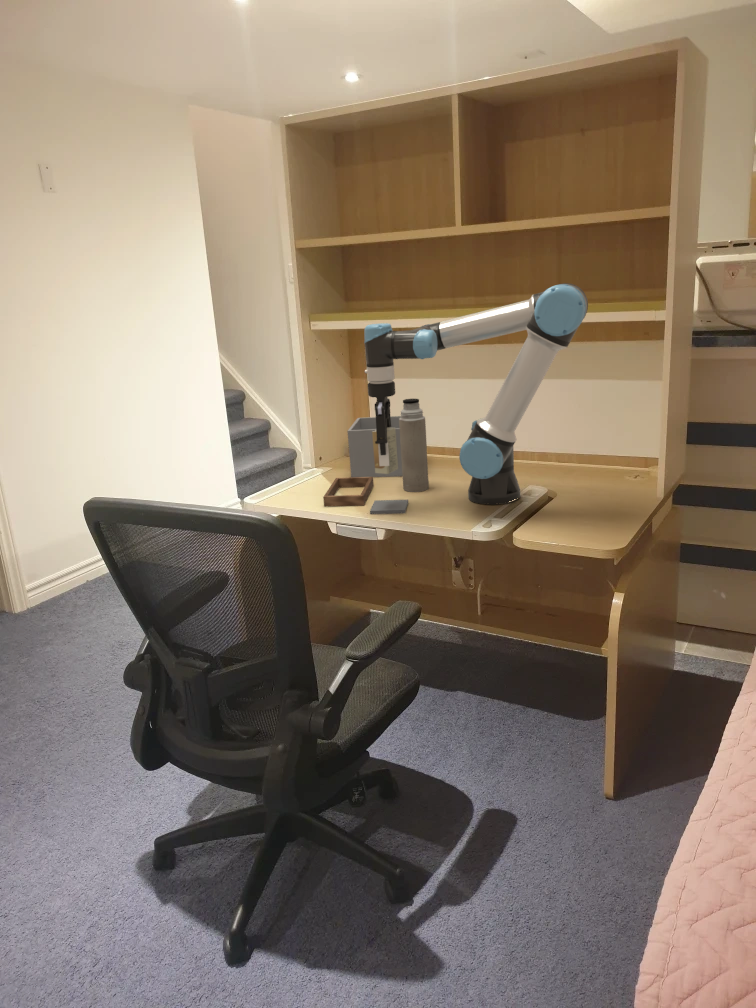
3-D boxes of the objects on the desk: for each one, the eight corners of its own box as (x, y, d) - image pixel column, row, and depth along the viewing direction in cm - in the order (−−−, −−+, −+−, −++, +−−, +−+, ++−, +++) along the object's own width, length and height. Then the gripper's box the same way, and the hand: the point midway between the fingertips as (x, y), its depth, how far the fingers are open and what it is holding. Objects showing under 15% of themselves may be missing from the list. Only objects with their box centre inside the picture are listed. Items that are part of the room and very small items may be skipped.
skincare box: (385, 468, 224) (383, 426, 221) (398, 469, 222) (396, 427, 219) (374, 473, 219) (371, 430, 216) (387, 474, 217) (384, 431, 214)
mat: (408, 502, 228) (408, 499, 228) (405, 513, 219) (405, 509, 218) (374, 503, 229) (374, 500, 229) (370, 514, 220) (369, 510, 220)
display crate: (421, 459, 277) (419, 415, 272) (416, 475, 256) (414, 428, 252) (361, 461, 280) (357, 417, 276) (351, 477, 260) (347, 430, 255)
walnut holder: (373, 485, 248) (372, 476, 247) (364, 505, 228) (363, 495, 228) (336, 486, 250) (336, 477, 249) (324, 506, 230) (323, 496, 229)
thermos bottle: (415, 483, 247) (410, 396, 239) (434, 487, 242) (429, 398, 234) (398, 489, 242) (392, 400, 234) (416, 493, 237) (411, 402, 228)
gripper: (372, 376, 223) (377, 454, 230) (362, 387, 204) (368, 471, 211) (398, 375, 222) (402, 453, 229) (390, 386, 203) (395, 471, 210)
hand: (386, 462), depth 220 cm, fingers closed on skincare box, 7 cm apart
